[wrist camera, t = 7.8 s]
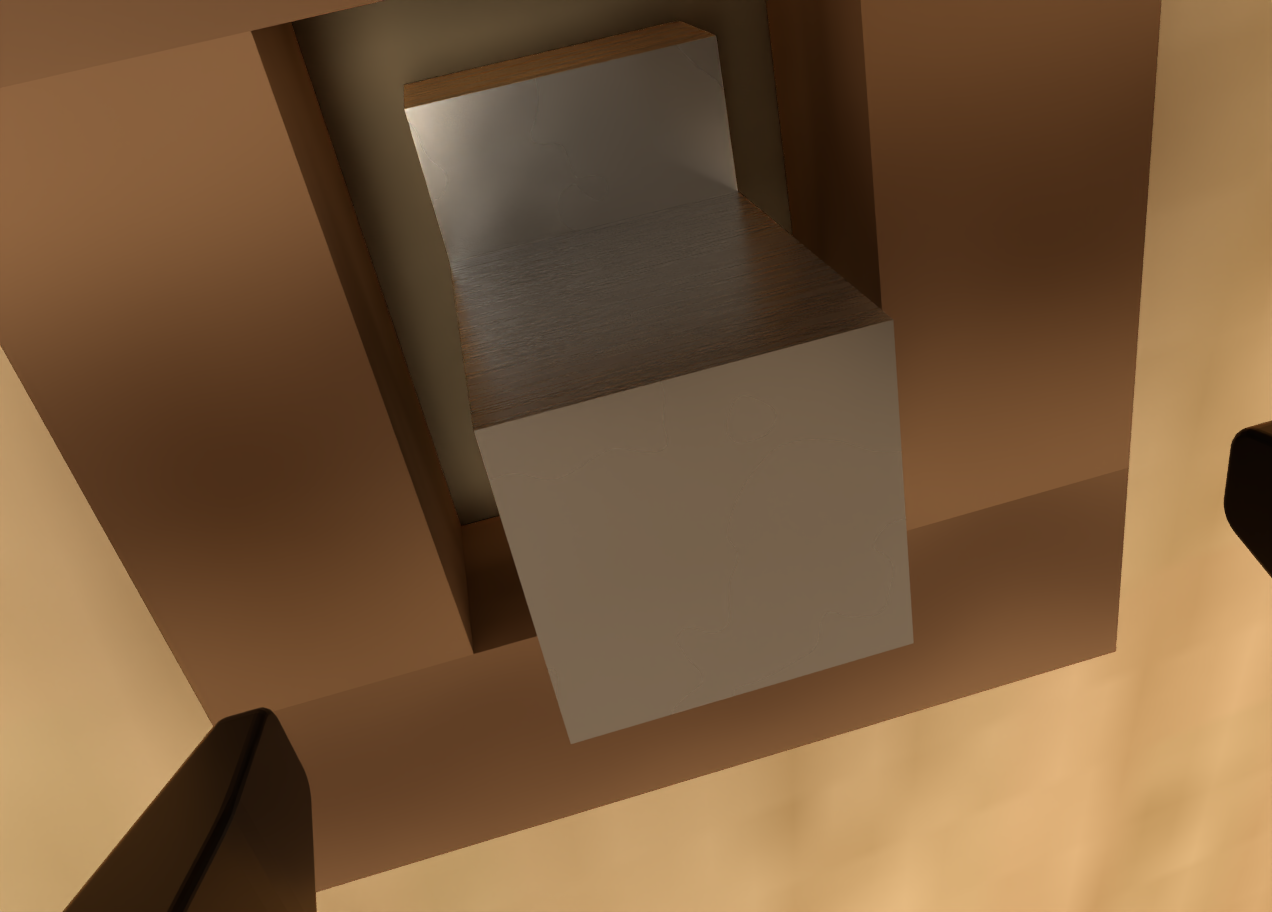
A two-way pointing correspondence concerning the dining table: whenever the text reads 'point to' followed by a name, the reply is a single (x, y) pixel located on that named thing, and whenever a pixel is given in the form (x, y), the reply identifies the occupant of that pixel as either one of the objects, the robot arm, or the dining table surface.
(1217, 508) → the dining table surface
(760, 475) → the bracket
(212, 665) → the well block
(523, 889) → the dining table surface
